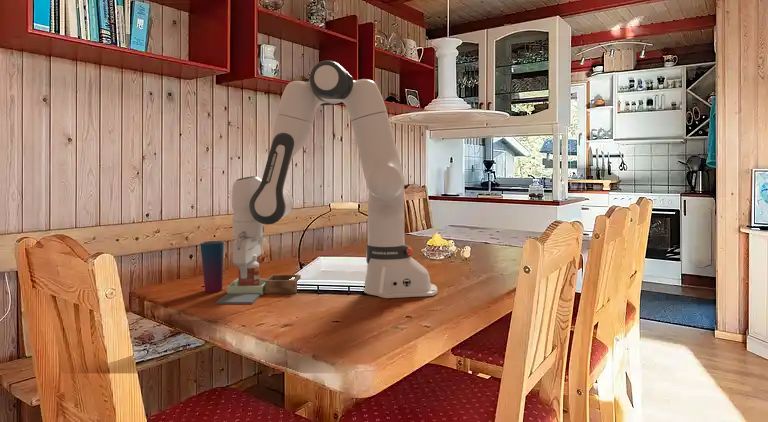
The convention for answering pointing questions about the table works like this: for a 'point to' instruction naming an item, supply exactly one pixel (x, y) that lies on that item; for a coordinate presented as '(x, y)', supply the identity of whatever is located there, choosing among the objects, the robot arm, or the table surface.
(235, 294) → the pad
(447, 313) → the table surface
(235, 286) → the rim tray
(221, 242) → the cup
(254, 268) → the pill bottle
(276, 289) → the crate
